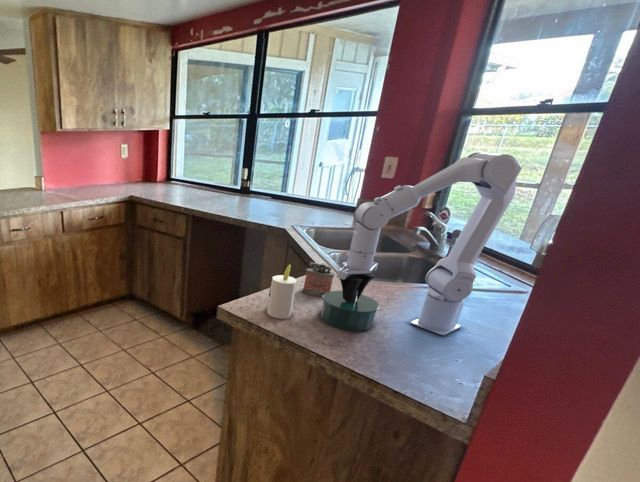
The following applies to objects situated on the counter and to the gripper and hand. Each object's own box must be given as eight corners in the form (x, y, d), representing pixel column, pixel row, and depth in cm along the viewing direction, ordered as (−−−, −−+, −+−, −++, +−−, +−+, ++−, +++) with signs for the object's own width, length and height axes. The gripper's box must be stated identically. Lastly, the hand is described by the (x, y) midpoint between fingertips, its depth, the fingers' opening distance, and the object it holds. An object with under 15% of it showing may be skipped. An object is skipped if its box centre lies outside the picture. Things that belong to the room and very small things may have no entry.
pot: (338, 306, 119) (342, 289, 117) (381, 324, 109) (386, 305, 107) (311, 316, 113) (314, 298, 111) (353, 335, 103) (358, 316, 101)
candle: (266, 307, 118) (274, 258, 112) (290, 310, 116) (299, 261, 110) (265, 316, 113) (273, 265, 107) (290, 320, 110) (299, 268, 105)
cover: (341, 290, 117) (344, 276, 116) (389, 308, 107) (393, 292, 105) (311, 300, 111) (314, 285, 109) (358, 319, 100) (363, 303, 99)
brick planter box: (330, 294, 127) (337, 264, 123) (328, 298, 124) (335, 267, 121) (303, 289, 131) (308, 260, 127) (301, 292, 128) (306, 263, 125)
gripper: (363, 242, 110) (352, 288, 115) (330, 250, 103) (320, 298, 108) (390, 249, 104) (377, 297, 109) (357, 258, 97) (344, 308, 102)
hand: (350, 298), depth 108 cm, fingers closed on cover, 2 cm apart
